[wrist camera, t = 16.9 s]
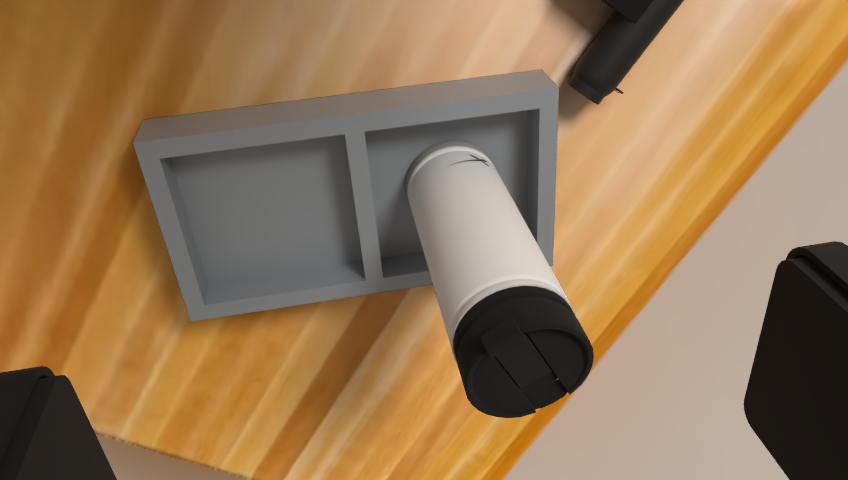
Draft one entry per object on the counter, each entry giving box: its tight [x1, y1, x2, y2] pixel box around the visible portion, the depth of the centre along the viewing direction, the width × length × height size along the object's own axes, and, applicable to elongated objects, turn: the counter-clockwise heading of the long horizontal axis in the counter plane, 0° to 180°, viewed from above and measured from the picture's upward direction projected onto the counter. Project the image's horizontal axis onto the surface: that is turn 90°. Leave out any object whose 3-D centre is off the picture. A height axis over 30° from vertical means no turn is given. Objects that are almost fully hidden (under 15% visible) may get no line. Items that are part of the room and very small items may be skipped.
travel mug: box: [406, 140, 594, 418], centre depth 40 cm, size 6×7×20 cm
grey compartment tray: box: [133, 69, 559, 322], centre depth 47 cm, size 13×26×4 cm, turn 94°
